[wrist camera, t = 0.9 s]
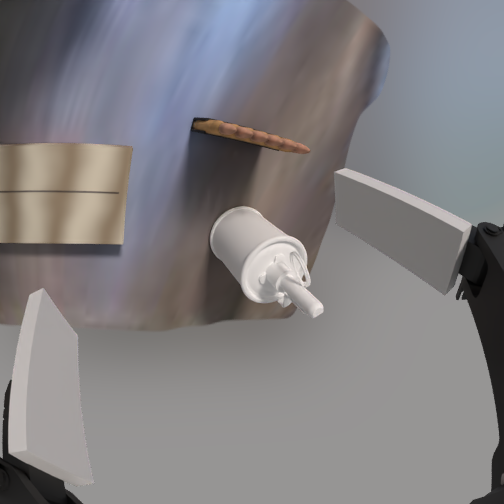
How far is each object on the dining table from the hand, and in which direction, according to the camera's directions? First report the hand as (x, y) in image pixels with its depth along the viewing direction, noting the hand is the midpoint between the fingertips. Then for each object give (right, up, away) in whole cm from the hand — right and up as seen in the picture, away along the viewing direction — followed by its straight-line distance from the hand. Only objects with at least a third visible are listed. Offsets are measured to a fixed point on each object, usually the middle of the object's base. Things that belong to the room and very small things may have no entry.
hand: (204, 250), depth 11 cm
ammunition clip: (-1, +16, +25) cm, 30 cm away
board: (-28, +8, +14) cm, 32 cm away
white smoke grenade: (0, +2, +33) cm, 33 cm away
